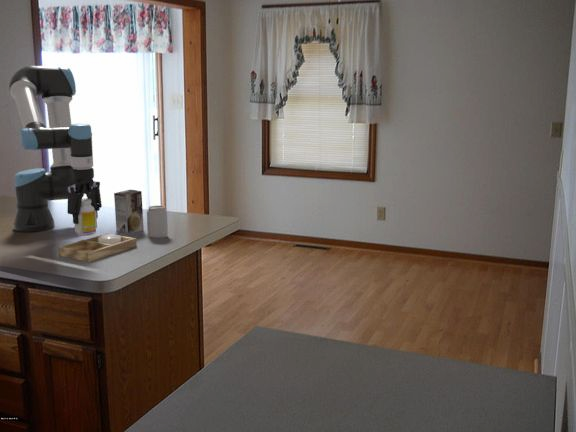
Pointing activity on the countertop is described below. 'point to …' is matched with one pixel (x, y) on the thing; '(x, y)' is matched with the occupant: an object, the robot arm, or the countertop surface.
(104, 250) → the rack
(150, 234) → the can
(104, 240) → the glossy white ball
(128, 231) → the coffee box
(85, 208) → the supplement bottle
